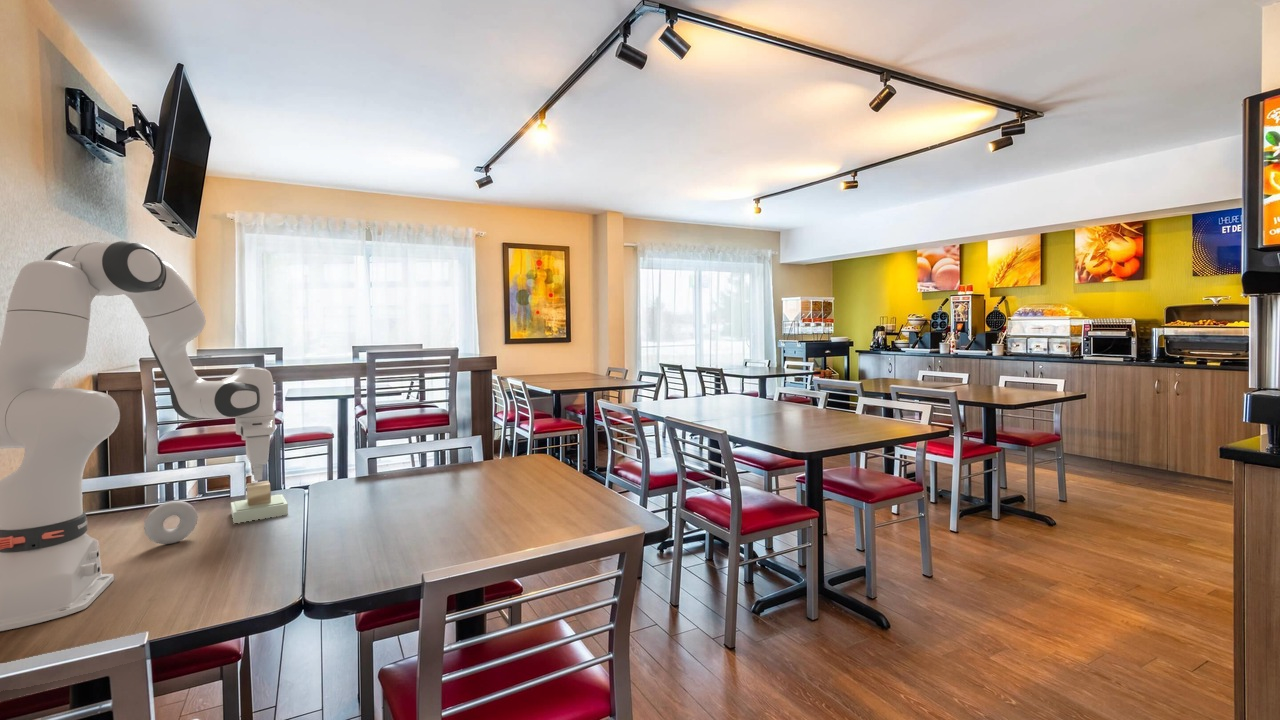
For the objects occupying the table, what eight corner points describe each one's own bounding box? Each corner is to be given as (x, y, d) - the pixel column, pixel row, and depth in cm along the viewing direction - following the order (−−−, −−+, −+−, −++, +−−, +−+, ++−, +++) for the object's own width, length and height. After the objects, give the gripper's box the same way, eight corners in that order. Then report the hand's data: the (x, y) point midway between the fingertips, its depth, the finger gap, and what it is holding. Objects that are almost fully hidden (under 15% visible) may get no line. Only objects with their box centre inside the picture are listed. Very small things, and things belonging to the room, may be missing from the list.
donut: (148, 551, 127) (145, 508, 126) (142, 548, 129) (140, 505, 128) (201, 538, 135) (199, 497, 135) (195, 535, 137) (193, 495, 136)
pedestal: (288, 514, 152) (287, 502, 152) (233, 524, 145) (233, 511, 145) (282, 504, 162) (282, 493, 161) (231, 513, 154) (230, 501, 154)
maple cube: (270, 502, 153) (270, 484, 152) (248, 505, 149) (247, 487, 149) (268, 498, 156) (268, 480, 156) (247, 501, 153) (246, 483, 153)
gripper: (239, 424, 158) (240, 472, 158) (243, 431, 142) (244, 485, 142) (266, 422, 162) (267, 469, 162) (273, 428, 146) (274, 481, 146)
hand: (256, 477), depth 152 cm, fingers open, 8 cm apart
